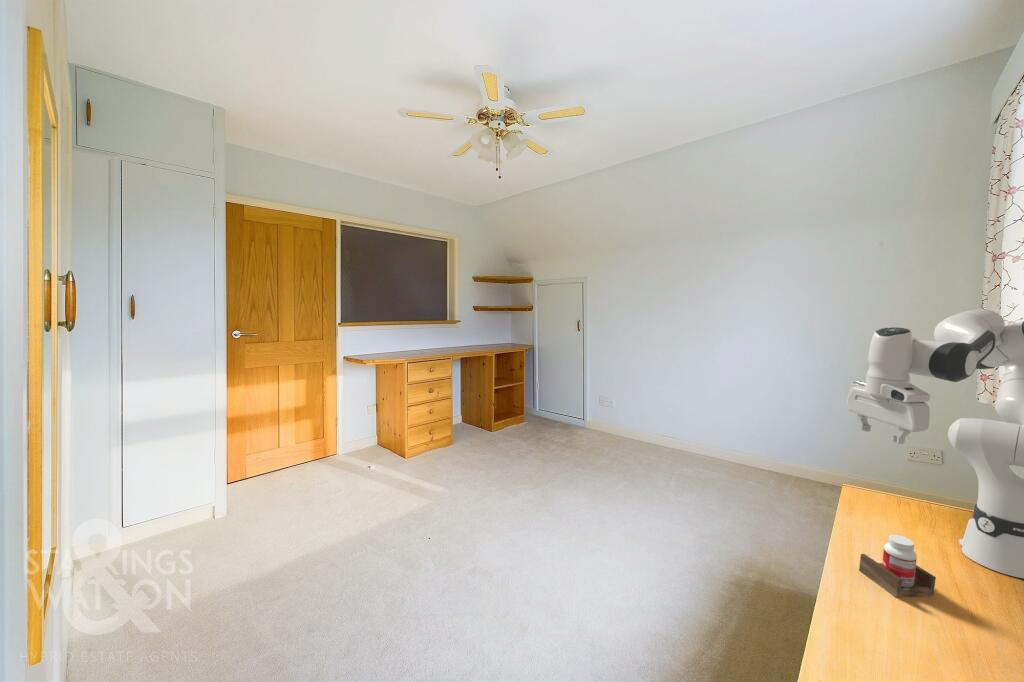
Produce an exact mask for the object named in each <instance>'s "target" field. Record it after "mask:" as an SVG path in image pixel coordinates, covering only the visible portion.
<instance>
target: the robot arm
mask: <svg viewBox="0 0 1024 682" xmlns="http://www.w3.org/2000/svg"><path fill="white" fill-rule="evenodd" d="M933 337H934V340H928V339H919V338H916V337H914V336H913V333H912V331H911V329H908V328H904V327H892V326H891V327H883V328H879V329H877V330H875V331H874V333H873V334H872V337H871V340H870V344H869V349H868V356H867V361H868V364H869V365H868V370H867V372H866V378H865V382H863V381H861V380H856V381H853V382H852V383H850V387H849V388H850V389H849V391H848V394H847V397H846V402H845V407H846V410H847V411H848V412H852V413H854V414H857V419H858V422H859V423H860V430H861V431H863V432H870V431H872V429H871V428H872V425H871V424H869V422H868V419H873V420H876V421H879V422H882V423H885V424H888V425H890V426H894V427H896V428H898V429H897V431H898V432H899V433H898V434H897V435H893V439H892V440H893V443H896V444H899V445H904V444H905V442H906V441H905V440H906V438H907V437H908V435H910V434H911V432H912V433H922V432H925V431H927V430H928V429H929V425H930V414H931V413H930V410H931V409H930V406H929V405H928V403H926V402H929V401H930V400H931V396H930V393H928V392H926V391H925V390H923V389H921V388H919V387H917V386H916V385H914V384H912V383H911V382H910V381H911V375H917V376H923V377H928V378H929V377H930V378H935V379H938V380H939V379H940V380H943V381H949V382H952V383H958V382H962V381H964V380H966V379H967V378H969V377H971V376H972V375H973V373H974V372H975V370H976V369H977V370H988V369H989V370H990V369H991V370H992V369H995V368H997V367H998V368H999V367H1003V366H1004V368H1005V371H1004V374H1003V375H1002V377H1001V380H1000V381H999V385H998V389H997V393H996V399H995V402H994V410H995V412H996V413H997V414H998V416H1000V418H1001V419H1003V420H1004V421H1001V420H1000V421H999V420H995V419H989V418H988V419H987V418H978V417H973V418H972V417H960V418H958V419H956V420H955V421H954V422H952V424H951V425H950V426H949V428H948V431H947V438H948V441H949V444H950V445H951V446H952V447H953V449H955V451H957V452H958V453H960V454H961V455H962V456H963V457H964V458H966V460H968V462H969V463H970V464H971V466H972V468H973V469H974V471H975V473H976V477H977V483H978V484H977V485H978V489H977V490H978V491H977V492H978V493H977V503H975V504H974V507H973V509H972V518H969V520H968V521H967V525H966V529H965V532H964V535H963V537H962V538H959V539H958V540H959V541H958V543H959V544H960V546H961V552H962V554H964V555H965V556H966V557H967V558H969V559H970V560H971V561H973V562H974V563H976V564H979V565H981V566H982V567H986V568H987V569H990V570H992V571H995V572H997V573H1000V574H1004V575H1006V576H1007V575H1008V576H1010V577H1015V578H1019V579H1024V478H1023V477H1021V476H1019V475H1018V474H1016V473H1015V472H1014V471H1013V470H1012V468H1010V466H1016V467H1021V468H1024V320H1022V321H1019V322H1015V323H1011V324H1010V323H1009V324H1006V323H1005V321H1004V318H1003V317H1002V316H1001V315H1000V314H999V313H998V312H996V311H994V310H990V309H984V308H982V309H981V308H979V309H970V310H965V311H962V312H958V313H955V314H953V315H950V316H948V317H945V318H944V319H943V320H941V321H939V323H938V324H937V325H936V326H935V328H934V331H933ZM910 374H911V375H910Z"/></svg>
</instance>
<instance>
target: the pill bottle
mask: <svg viewBox="0 0 1024 682" xmlns="http://www.w3.org/2000/svg"><path fill="white" fill-rule="evenodd" d="M914 548H915V543H914V541H912V539H910V538H908V537H905V536H902V535H899V534H890V535H889V537H888V542H887V543H885V544H884V546H883V552H882V562H881V563H882V566H883V567H885V568H886V569H888V570H889V571H891V572H892V573H894V574H895V575H897V576H898V577H899V578H901V579H902V585H901V587H903V588H910V587H912V586H913V585H914V577H915V568H916V565H917V557H918V556H917V554H916V552H915V551H914Z"/></svg>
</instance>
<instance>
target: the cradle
mask: <svg viewBox="0 0 1024 682" xmlns="http://www.w3.org/2000/svg"><path fill="white" fill-rule="evenodd" d="M858 571H859V572H860V573H862V574H863V575H865V576H866V577H867V578H868V579H870V581H873V583H875V584H876V585H878V586H879V587H880V588H882V589H884V590H885V591H886V592H888V593H889V594H890V595H892V596H893V597H895V599H896V598H897V599H899V598H901V599H902V598H914V597H915V598H916V597H927V596H934V593H935V586H936V580H937V579H936V576H934V575H933V574H932V573H930V572H928V571H926V569H923V568H922V567H921V566H919V565H917V564H916V568H915V577H914V585H913V586H912V587H910V588H903V587H901V585H902V579H901V578H899V577H898V576H897V575H895V574H894V573H892V572H891V571H889V570H888V569H886V568H885V567H883V566H882V562H877V561H876V560H875V559H873V558H871V557H870V556H868V555H867V554H865V553H861V554H860V560H859V566H858Z"/></svg>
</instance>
